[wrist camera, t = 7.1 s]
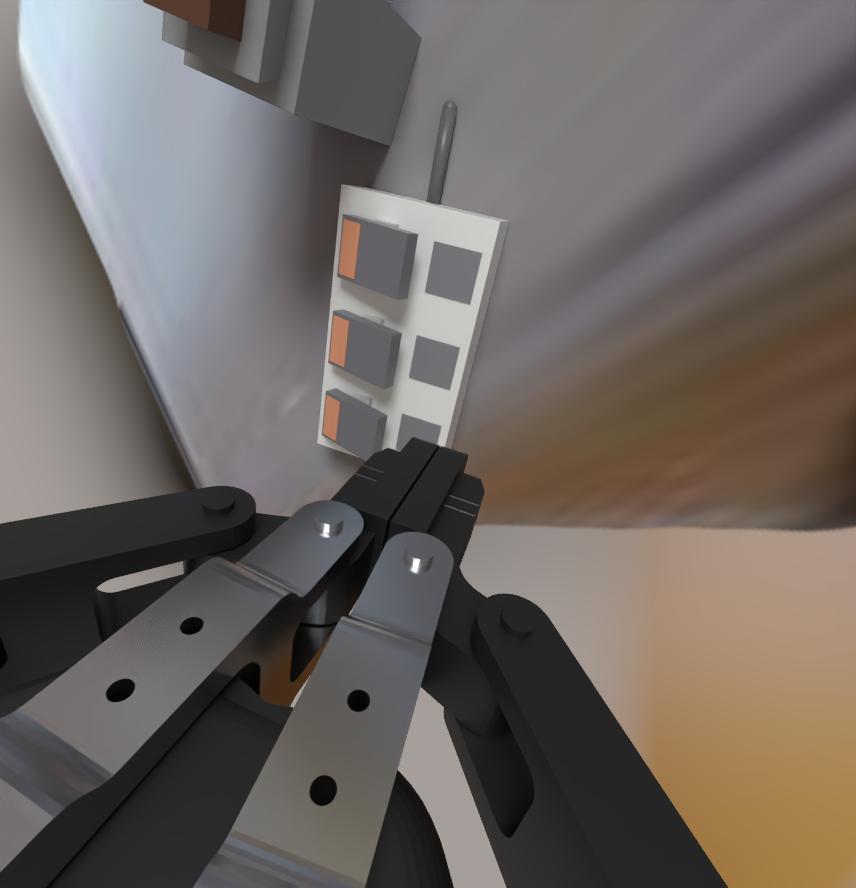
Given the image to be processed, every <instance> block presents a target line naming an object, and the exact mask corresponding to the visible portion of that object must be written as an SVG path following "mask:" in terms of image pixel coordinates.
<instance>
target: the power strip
mask: <svg viewBox="0 0 856 888" xmlns="http://www.w3.org/2000/svg"><path fill="white" fill-rule="evenodd" d="M456 112H457V107H456V104H455V103H454V102H453V101H447V102H446V103H445V104H444V106H443V110H442V115H441V121H440V127H439V133H438V138H437V144H436V150H435V156H434V162H433V167H432V173H431V179H430V185H429V190H428V196H427V201H423V200H419V199H414V198H410V197H406V196H402V195H397V194H393V193H389V192H385V191H380V190H376V189H372V188H368V187H362V186H354V185H345V184H341V195H340V205H339V216H338V227H337V238H336V249H335V259H334V270H333V281H332V292H331V303H330V313H329V324H328V335H327V346H326V357H325V368H324V378H323V389H322V400H321V411H320V422H319V432H318V443H319V444H322V445H324V446H327V447H330V448H333V449H336V450H339V451H342V452H345V453H347V454H350V455H353V456H356V455H354V454H352V453H351V452H349V451H347V450H346V449H344V448H342V447H341V446H339V445H337V444H336V443H334V442H332V441H331V440H329V439H327V438H326V437H324V436H322V426H323V416H324V406H325V395H326V391H328V390H331V389H335V388H337V389H339V390H341V391H342V392H344V393H346V394H348V395H350V396H352V397H354V398H356V399H358V400H360V401H361V402H363V403H365V404H367V405H369V406H371V407H373V408H375V409H377V410H379V411H380V412H382V413H384V414H386V415H388V416H387V422H386V428H385V433H384V439H383V445H382V450H384V449H386V448H391V449H394V450H397V451H401V450H402V449H403V448H404V446H405V445H406V444H407V443H408V442H409V440H410V439H411V438H412V437H416V438H419V439H422V440H425V441H428V442H431V443H434V444H437V445H440V446H444V447H447V448H450V449H451V448H452V444H453V440H454V436H455V433H456V429H457V425H458V421H459V417H460V413H461V409H462V405H463V401H464V397H465V393H466V389H467V385H468V381H469V378H470V374H471V370H472V366H473V362H474V358H475V354H476V350H477V346H478V342H479V338H480V334H481V330H482V327H483V323H484V319H485V315H486V311H487V307H488V303H489V299H490V295H491V291H492V287H493V283H494V279H495V275H496V272H497V268H498V264H499V260H500V256H501V252H502V248H503V244H504V240H505V236H506V232H507V228H508V224H509V221H508V220H504V219H499V218H495V217H491V216H487V215H482V214H478V213H474V212H470V211H465V210H461V209H457V208H453V207H448V206H444V205H440V198H441V193H442V187H443V182H444V177H445V171H446V166H447V161H448V155H449V150H450V144H451V139H452V134H453V128H454V123H455V117H456ZM343 214H348V215H356V216H359V217H363V218H366V219H369V220H373V221H376V222H379V223H383V224H386V225H390V226H393V227H396V228H400V229H403V230H407V231H410V232H413V233H417V234H418V240H417V246H416V252H415V258H414V264H413V269H412V275H411V281H410V287H409V293H408V299H400V300H396V299H394V298H391V297H388V296H386V295H383V294H381V293H378V292H375V291H373V290H370V289H367V288H365V287H362V286H360V285H357V284H354V283H352V282H349V281H347V280H344V279H341V278H339V277H337V271H338V261H339V250H340V240H341V229H342V219H343ZM342 309H344V310H346V311H349V312H351V313H354V314H356V315H359V316H361V317H364V318H366V319H369V320H371V321H374V322H376V323H379V324H381V325H383V326H386V327H388V328H391V329H393V330H396V331H398V332H401V333H402V337H401V342H400V348H399V354H398V360H397V366H396V372H395V377H394V383H393V386H392V387H389V388H387V389H384V390H383V389H381V388H379V387H377V386H375V385H373V384H371V383H369V382H367V381H365V380H363V379H360V378H358V377H356V376H354V375H352V374H350V373H348V372H346V371H344V370H342V369H339V368H337V367H335V366H333V365H331V364H329V363H328V358H329V348H330V337H331V327H332V317H333V311H335V310H342ZM356 457H357V456H356Z"/></svg>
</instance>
